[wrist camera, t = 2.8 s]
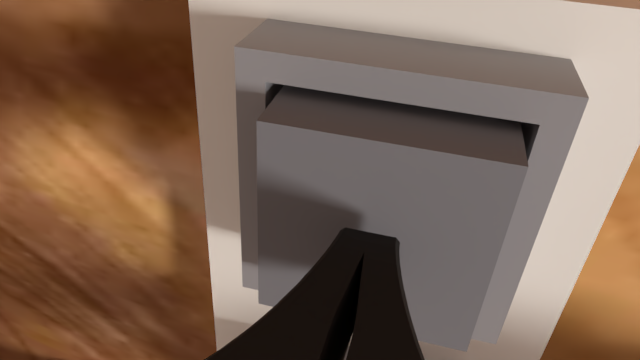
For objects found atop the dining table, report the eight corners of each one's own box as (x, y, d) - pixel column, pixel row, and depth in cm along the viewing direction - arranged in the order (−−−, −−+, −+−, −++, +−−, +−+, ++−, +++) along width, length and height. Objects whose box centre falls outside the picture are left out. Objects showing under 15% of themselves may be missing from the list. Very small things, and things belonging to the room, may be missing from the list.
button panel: (671, -4, 14) (744, 51, 10) (471, 467, 27) (471, 564, 23) (214, -56, 16) (136, -26, 12) (237, 404, 29) (203, 484, 26)
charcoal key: (518, 107, 13) (528, 166, 11) (467, 277, 17) (466, 352, 14) (293, 73, 14) (256, 120, 12) (288, 239, 18) (258, 303, 15)
